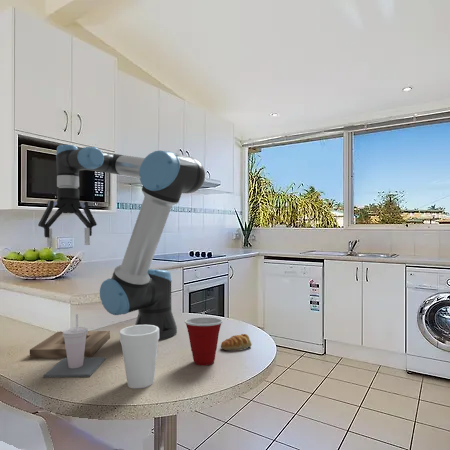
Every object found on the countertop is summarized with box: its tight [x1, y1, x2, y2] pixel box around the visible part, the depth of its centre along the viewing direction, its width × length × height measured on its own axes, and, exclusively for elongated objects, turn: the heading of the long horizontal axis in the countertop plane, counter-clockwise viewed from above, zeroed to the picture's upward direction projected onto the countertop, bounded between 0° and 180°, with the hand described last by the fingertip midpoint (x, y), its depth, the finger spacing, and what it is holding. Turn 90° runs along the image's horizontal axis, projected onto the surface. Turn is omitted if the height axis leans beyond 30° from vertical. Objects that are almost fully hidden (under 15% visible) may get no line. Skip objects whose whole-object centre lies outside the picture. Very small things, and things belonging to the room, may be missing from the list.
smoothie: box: [62, 313, 89, 368], centre depth 99 cm, size 6×6×14 cm
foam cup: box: [119, 324, 160, 389], centre depth 89 cm, size 10×9×13 cm
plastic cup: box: [184, 316, 224, 367], centre depth 102 cm, size 11×11×12 cm
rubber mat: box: [42, 356, 106, 378], centre depth 99 cm, size 12×12×1 cm
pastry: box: [220, 333, 252, 351], centre depth 113 cm, size 9×7×4 cm
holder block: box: [29, 330, 111, 359], centre depth 116 cm, size 18×18×2 cm
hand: (69, 245), depth 133 cm, fingers open, 13 cm apart
